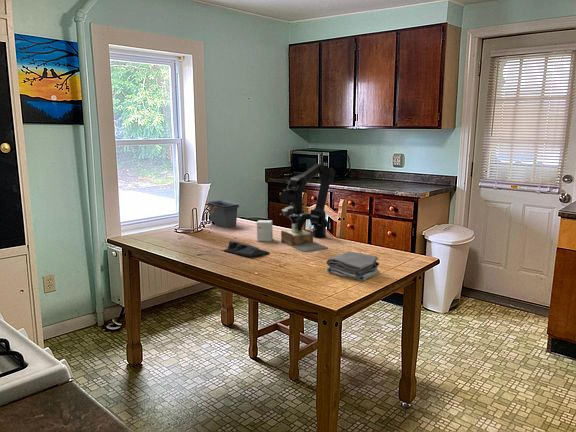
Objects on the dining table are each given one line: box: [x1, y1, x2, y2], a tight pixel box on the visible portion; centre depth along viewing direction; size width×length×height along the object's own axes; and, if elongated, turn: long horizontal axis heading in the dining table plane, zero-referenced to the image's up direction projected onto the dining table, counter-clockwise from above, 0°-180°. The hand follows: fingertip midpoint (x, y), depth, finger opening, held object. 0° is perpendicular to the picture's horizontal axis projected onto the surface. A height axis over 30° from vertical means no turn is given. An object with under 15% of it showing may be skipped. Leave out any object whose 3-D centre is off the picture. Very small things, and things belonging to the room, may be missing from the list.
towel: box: [326, 251, 381, 282], centre depth 194 cm, size 15×18×8 cm
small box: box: [256, 219, 274, 242], centre depth 251 cm, size 8×6×10 cm
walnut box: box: [280, 227, 314, 247], centre depth 246 cm, size 13×11×6 cm
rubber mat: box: [291, 241, 329, 253], centre depth 236 cm, size 14×12×1 cm
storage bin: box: [206, 199, 240, 228], centre depth 289 cm, size 21×16×14 cm
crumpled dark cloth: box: [223, 240, 271, 258], centre depth 228 cm, size 15×22×5 cm
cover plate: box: [284, 223, 311, 237], centre depth 245 cm, size 11×10×5 cm
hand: (297, 230), depth 245 cm, fingers open, 4 cm apart
